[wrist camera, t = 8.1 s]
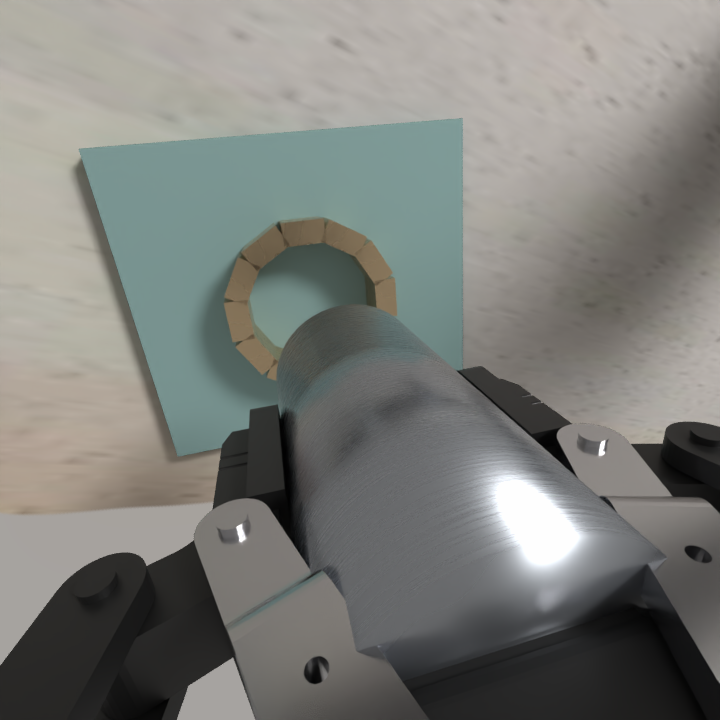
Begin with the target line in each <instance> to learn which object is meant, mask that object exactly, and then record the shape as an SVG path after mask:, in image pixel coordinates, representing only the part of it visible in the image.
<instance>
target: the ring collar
mask: <svg viewBox="0 0 720 720" xmlns="http://www.w3.org/2000/svg"><path fill="white" fill-rule="evenodd" d="M279 226H280V230H279V229H278V228H277V227H276V225H275V224H274V223H273V224H271V225H270V226H269V227H268V228H266V229H265V230H264V231H263V232H261V233H260V234H259V235H258V236H256V237H255V238H254V239H253V240H251V241H250V242H249V243H248V244H246V245H245V246H244V247H243V249H242V252H239V255H238V258H237V261H236V264H235V267H234V270H233V273H232V275H231V278H230V281H229V284H228V287H227V290H226V293H225V296H224V298H225V300H224V307H225V311H226V316H227V320H228V324H229V329H230V333H231V337H232V342H236V346H235V347H236V348H237V349H238V350H239V351H240V353H241V354H242V355H243V356H244V357H245V358H246V359H247V360H248V361H249V362H250V363H251V364H252V365H253V366H254V367H255V368H256V369H257V370H258V371H259V372H260V373H261V374H262V375H263V374H264V373H265V372H266V373H267V378H269V379H273V380H276V376H277V366H278V361H279V358H280V355H281V352H282V350H283V348H281V347H278V346H275V345H274V344H273V343H272V342H271V341H270V339H269V338H268V337H267V336H266V335H265V334H264V333H263V332H262V331H261V329H260V328H259V327H258V326H257V325H256V324H255V322H254V317H253V312H252V307H251V302H250V294H251V292H252V289H253V286H254V283H255V281H256V278H257V275H258V272H259V270H260V269H261V268H262V267H263V266H265V265H266V264H267V263H268V262H270V261H271V260H272V259H274V258H275V257H276V256H277V255H279V254H280V253H281V252H282V251H284V250H285V249H286V248H287V247H293V246H301V245H309V244H317V243H326V244H328V245H330V246H332V247H335V248H337V249H339V250H341V251H344V252H346V253H348V254H349V255H350V257H351V258H352V259H353V261H354V262H355V264H356V265H357V267H358V268H359V269H360V271H361V272H362V274H363V275H364V278H365V289H366V299H367V306H372V307H376V308H379V309H381V310H384V311H386V312H388V313H390V314H391V315H393V316H397V301H396V286H395V278H394V277H392V276H391V274H393V272H392V270H391V269H390V267H389V266H388V264H387V263H386V261H385V260H384V258H383V257H382V255H381V254H380V252H379V251H378V249H377V248H376V246H375V245H374V243H373V242H372V240H369V239H367V236H365V235H362V234H360V233H358V232H356V231H354V230H352V229H350V228H347V227H345V226H343V225H341V224H339V223H337V222H334V221H332V220H330V219H327V218H324V217H323V218H321V217H318V216H315V217H306V218H298V219H289V220H280V221H279Z"/></svg>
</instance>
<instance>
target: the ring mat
mask: <svg viewBox="0 0 720 720" xmlns="http://www.w3.org/2000/svg"><path fill="white" fill-rule="evenodd" d="M79 152H80V155H81V158H82V161H83V164H84V167H85V170H86V174H87V177H88V180H89V183H90V186H91V189H92V192H93V195H94V198H95V201H96V204H97V208H98V211H99V214H100V217H101V220H102V223H103V226H104V229H105V232H106V235H107V239H108V242H109V245H110V248H111V251H112V254H113V257H114V260H115V263H116V266H117V270H118V273H119V276H120V279H121V282H122V285H123V288H124V291H125V294H126V297H127V301H128V304H129V307H130V310H131V313H132V316H133V319H134V322H135V325H136V328H137V331H138V335H139V338H140V341H141V344H142V347H143V350H144V353H145V356H146V359H147V362H148V366H149V369H150V372H151V375H152V378H153V381H154V384H155V387H156V390H157V393H158V397H159V400H160V403H161V406H162V409H163V412H164V415H165V418H166V421H167V424H168V428H169V431H170V434H171V437H172V440H173V443H174V446H175V449H176V452H177V455H178V457H179V456H184V455H189V454H193V453H198V452H203V451H208V450H213V449H218V448H222V444H223V443H224V441H225V440H226V439H227V438H228V436H229V435H230V434H231V433H232V432H233V431H238V430H244V429H249V415H250V409H255V408H260V407H266V406H271V405H276V404H278V408H279V402H278V392H277V381H276V380H273V379H269V378H267V373H266V372H265V373H264V374H263V375H262V374H261V373H260V372H259V371H258V370H257V369H256V368H255V367H254V366H253V365H252V364H251V363H250V362H249V361H248V360H247V359H246V358H245V357H244V356H243V355H242V354H241V353H240V351H239V350H238V349H237V348H236V347H235V346H236V342H232V337H231V333H230V329H229V324H228V320H227V316H226V311H225V307H224V300H225V298H224V296H225V293H226V290H227V287H228V284H229V281H230V278H231V275H232V273H233V270H234V267H235V264H236V261H237V258H238V255H239V252H242V249H243V247H244V246H245V245H246V244H248V243H249V242H250V241H251V240H253V239H254V238H255V237H256V236H258V235H259V234H260V233H261V232H263V231H264V230H265V229H266V228H268V227H269V226H270V225H271V224H273V223H274V224H275V225H276V227H277V228H278V229H279V230H280V226H279V221H280V220H289V219H298V218H306V217H315V216H318V217H321V218H323V217H324V218H327V219H330V220H332V221H334V222H337V223H339V224H341V225H343V226H345V227H347V228H350V229H352V230H354V231H356V232H358V233H360V234H362V235H365V236H367V239H369V240H372V242H373V243H374V245H375V246H376V248H377V249H378V251H379V252H380V254H381V255H382V257H383V258H384V260H385V261H386V263H387V264H388V266H389V267H390V269H391V270H392V272H393V274H391V276H392V277H394V278H395V286H396V301H397V316H394V317H395V318H397V319H398V320H399V321H400V322H401V323H403V324H404V325H405V326H406V327H407V328H408V329H409V330H411V331H412V332H413V333H414V334H415V335H416V336H417V337H418V338H420V339H421V340H422V341H423V342H424V343H425V344H426V345H428V346H429V347H430V348H431V349H432V350H433V351H434V352H435V353H437V354H438V355H439V356H440V357H441V358H442V359H443V360H445V361H446V362H447V363H448V364H449V365H450V366H451V367H452V368H454V369H455V370H456V371H457V370H463V118H459V119H447V120H434V121H421V122H409V123H396V124H384V125H371V126H359V127H346V128H334V129H321V130H309V131H296V132H283V133H271V134H258V135H246V136H233V137H221V138H208V139H196V140H183V141H170V142H158V143H145V144H133V145H120V146H108V147H95V148H83V149H79ZM250 302H251V307H252V312H253V317H254V322H255V324H256V325H257V326H258V327H259V328H260V329H261V331H262V332H263V333H264V334H265V335H266V336H267V337H268V338H269V339H270V341H271V342H272V343H273V344H274V345H275V346H278V347H281V348H284V346H285V344H286V342H287V341H288V339H289V338H290V336H291V335H292V334H293V333H294V332H295V330H296V329H297V328H298V327H299V326H300V325H302V324H303V323H304V322H305V321H306V320H308V319H309V318H311V317H312V316H314V315H316V314H318V313H319V312H321V311H324V310H326V309H329V308H332V307H336V306H341V305H349V304H359V305H367V299H366V289H365V278H364V275H363V274H362V272H361V271H360V269H359V268H358V267H357V265H356V264H355V262H354V261H353V259H352V258H351V257H350V255H349V254H348V253H346V252H344V251H341V250H339V249H337V248H335V247H332V246H330V245H328V244H326V243H317V244H309V245H301V246H293V247H287V248H286V249H285V250H284V251H282V252H281V253H280V254H279V255H277V256H276V257H275V258H274V259H272V260H271V261H270V262H268V263H267V264H266V265H265V266H263V267H262V268H261V269H260V270H259V272H258V275H257V278H256V281H255V283H254V286H253V289H252V292H251V294H250Z"/></svg>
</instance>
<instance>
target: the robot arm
mask: <svg viewBox="0 0 720 720" xmlns="http://www.w3.org/2000/svg"><path fill="white" fill-rule="evenodd" d="M457 372H458V373H459V374H460V375H462V376H463V377H464V378H465V379H466V380H467V381H468V382H469V383H471V384H472V385H473V386H474V387H475V388H476V389H477V390H479V391H480V392H481V393H482V394H483V395H484V396H485V397H486V398H488V399H489V400H490V401H491V402H492V403H493V404H494V405H496V406H497V407H498V408H499V409H500V410H501V411H502V412H503V413H505V414H506V415H507V416H508V417H509V418H510V419H511V420H513V421H514V422H515V423H516V424H517V425H518V426H519V427H521V428H522V429H523V430H524V431H525V432H526V433H527V434H528V435H530V436H531V437H532V438H533V439H534V440H535V441H536V442H538V443H539V444H540V445H541V446H542V447H543V448H544V449H545V450H547V451H548V452H549V453H550V454H551V455H552V456H553V457H555V458H556V459H557V460H558V461H559V462H560V463H561V464H562V465H564V466H565V467H566V468H567V469H568V470H569V471H570V472H572V473H573V474H574V475H575V476H576V477H577V478H578V479H579V480H581V481H582V482H583V483H584V484H585V485H586V486H587V487H589V488H590V489H591V490H592V491H593V492H594V493H595V494H596V495H598V496H599V497H600V498H601V499H602V500H603V501H604V502H606V503H607V504H608V505H609V506H610V507H611V508H612V509H613V510H615V511H616V512H617V513H618V514H619V515H620V516H621V517H623V518H624V519H625V520H626V521H627V522H628V523H629V524H630V525H632V526H633V527H634V528H635V529H636V530H637V531H638V532H640V533H641V534H642V535H643V536H644V537H645V538H646V539H647V540H649V541H650V542H651V543H652V544H653V545H654V546H655V547H657V548H658V549H659V550H660V551H661V552H662V553H663V554H664V555H666V556H667V557H668V558H665V559H662V560H658V561H655V562H652V563H648V565H647V569H646V573H645V577H644V582H643V586H642V590H641V594H640V595H641V596H642V598H643V600H644V602H645V604H646V606H647V608H648V609H649V610H637V609H636V608H635V607H633V608H630V609H627V610H623V611H620V612H617V613H614V614H611V615H608V616H605V617H602V618H598V619H595V620H592V621H589V622H586V623H583V624H580V625H577V626H573V627H570V628H567V629H564V630H561V631H558V632H555V633H552V634H548V635H545V636H542V637H539V638H536V639H533V640H530V641H527V642H523V643H520V644H517V645H514V646H511V647H508V648H505V649H501V650H498V651H495V652H492V653H489V654H486V655H483V656H480V657H476V658H473V659H470V660H467V661H464V662H461V663H458V664H455V665H451V666H448V667H445V668H442V669H439V670H436V671H433V672H430V673H426V674H423V675H420V676H417V677H414V678H411V679H408V680H405V681H402V680H401V679H400V677H399V676H398V675H397V673H396V672H395V670H394V669H393V668H392V666H391V665H390V663H389V662H388V660H387V659H386V658H385V656H384V655H383V653H382V652H381V650H380V649H379V648H378V646H377V645H376V646H372V647H369V648H366V649H362V650H359V651H356V648H355V643H354V639H353V634H352V629H351V625H350V620H349V615H348V611H347V606H346V601H345V599H344V598H343V596H342V595H341V593H340V592H339V591H338V589H337V588H336V586H335V585H334V583H333V582H332V581H331V579H330V578H329V577H328V575H327V574H326V573H325V572H324V571H322V570H321V569H319V570H317V571H315V572H314V573H311V571H310V569H309V567H308V566H307V564H306V563H305V561H304V560H303V558H302V557H301V555H300V554H299V552H298V551H297V549H296V548H295V546H294V545H293V543H292V538H291V528H290V508H289V498H288V488H287V478H286V468H285V458H284V448H283V437H282V427H281V418H280V413H279V408H278V404H276V405H271V406H266V407H260V408H255V409H250V415H249V429H244V430H238V431H233V432H232V433H231V434H230V435H229V436H228V438H227V439H226V440H225V441H224V443H223V444H222V449H221V456H220V459H221V460H220V462H219V471H218V476H217V483H216V490H215V496H214V503H213V510H212V511H210V512H209V513H208V514H207V515H206V516H205V517H204V518H203V519H202V520H201V522H200V523H199V524H198V526H197V528H196V531H195V533H194V541H193V542H191V543H190V544H188V545H187V546H185V547H184V548H182V549H181V550H179V551H177V552H175V553H173V554H171V555H169V556H167V557H165V558H163V559H161V560H158V561H156V562H154V563H152V564H150V565H148V566H146V564H145V562H144V560H143V559H142V558H141V557H140V556H138V555H136V554H133V553H116V554H112V555H108V556H105V557H103V558H100V559H98V560H95V561H94V562H91V563H90V564H88V565H86V566H84V567H83V568H81V569H80V570H79V571H77V572H76V573H74V574H73V575H72V576H71V577H70V578H69V579H67V580H66V581H65V582H64V583H63V584H62V586H61V587H60V588H59V589H58V590H57V592H56V593H55V594H54V596H53V597H52V598H51V600H50V601H49V602H48V603H47V605H46V606H45V607H44V609H43V610H42V611H41V613H40V614H39V615H38V617H37V618H36V619H35V621H34V622H33V623H32V625H31V626H30V627H29V629H28V630H27V631H26V633H25V634H24V635H23V636H22V638H21V639H20V640H19V642H18V643H17V645H16V646H15V647H14V648H13V650H12V651H11V652H10V654H9V655H8V656H7V658H6V659H5V660H4V662H3V663H2V664H1V665H0V720H177V717H178V714H179V711H180V708H181V706H182V703H183V700H184V697H185V694H186V691H187V688H188V686H189V685H190V684H192V683H193V682H195V681H196V680H198V679H200V678H201V677H203V676H204V675H206V674H207V673H209V672H210V671H212V670H214V669H215V668H217V667H218V666H220V665H222V664H223V663H225V662H226V661H228V660H229V659H231V658H232V657H233V658H234V661H235V664H236V666H237V669H238V672H239V675H240V678H241V681H242V683H243V686H244V689H245V692H246V694H247V697H248V700H249V703H250V706H251V709H252V711H253V714H254V717H255V720H720V427H718V426H714V425H710V424H706V423H699V422H678V423H674V424H671V425H669V426H668V427H667V428H666V431H665V436H664V440H663V444H630V443H629V441H628V440H627V439H626V438H625V437H624V436H622V435H621V434H619V433H618V432H616V431H614V430H612V429H609V428H606V427H603V426H600V425H595V424H587V423H577V424H572V423H570V422H569V421H568V420H566V419H565V418H563V417H562V416H561V415H559V414H558V413H556V412H555V411H554V410H552V409H551V408H550V407H548V406H547V405H545V404H544V403H541V401H540V400H539V399H537V398H536V397H534V396H531V394H530V393H529V392H528V391H526V390H525V389H523V388H522V387H521V386H519V385H517V384H514V383H512V382H509V381H506V380H503V379H498V378H497V377H495V376H494V375H493V374H491V373H490V372H489V371H488V370H486V369H485V368H484V367H482V366H478V367H473V368H468V369H463V370H457Z"/></svg>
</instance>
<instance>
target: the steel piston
mask: <svg viewBox="0 0 720 720" xmlns="http://www.w3.org/2000/svg"><path fill="white" fill-rule="evenodd" d="M276 381H277V392H278V402H279V413H280V418H281V427H282V437H283V448H284V458H285V468H286V478H287V488H288V498H289V508H290V528H291V538H292V543H293V545H294V546H295V548H296V549H297V551H298V552H299V554H300V555H301V557H302V558H303V560H304V561H305V563H306V564H307V566H308V567H309V569H310V571H311V573H314V572H315V571H317V570H319V569H321V570H322V571H324V572H325V573H326V574H327V575H328V577H329V578H330V579H331V581H332V582H333V583H334V585H335V586H336V588H337V589H338V591H339V592H340V593H341V595H342V596H343V598H344V599H345V601H346V606H347V611H348V615H349V620H350V625H351V629H352V634H353V639H354V643H355V648H356V651H359V650H362V649H366V648H369V647H372V646H376V645H377V646H378V648H379V649H380V650H381V652H382V653H383V655H384V656H385V658H386V659H387V660H388V662H389V663H390V665H391V666H392V668H393V669H394V670H395V672H396V673H397V675H398V676H399V677H400V679H401V680H402V681H405V680H408V679H411V678H414V677H417V676H420V675H423V674H426V673H430V672H433V671H436V670H439V669H442V668H445V667H448V666H451V665H455V664H458V663H461V662H464V661H467V660H470V659H473V658H476V657H480V656H483V655H486V654H489V653H492V652H495V651H498V650H501V649H505V648H508V647H511V646H514V645H517V644H520V643H523V642H527V641H530V640H533V639H536V638H539V637H542V636H545V635H548V634H552V633H555V632H558V631H561V630H564V629H567V628H570V627H573V626H577V625H580V624H583V623H586V622H589V621H592V620H595V619H598V618H602V617H605V616H608V615H611V614H614V613H617V612H620V611H623V610H627V609H630V608H633V607H635V608H636V609H637V610H649V609H648V608H647V606H646V604H645V602H644V600H643V598H642V596H641V595H640V594H641V590H642V586H643V582H644V577H645V573H646V569H647V565H648V563H652V562H655V561H658V560H662V559H665V558H668V557H667V556H666V555H664V554H663V553H662V552H661V551H660V550H659V549H658V548H657V547H655V546H654V545H653V544H652V543H651V542H650V541H649V540H647V539H646V538H645V537H644V536H643V535H642V534H641V533H640V532H638V531H637V530H636V529H635V528H634V527H633V526H632V525H630V524H629V523H628V522H627V521H626V520H625V519H624V518H623V517H621V516H620V515H619V514H618V513H617V512H616V511H615V510H613V509H612V508H611V507H610V506H609V505H608V504H607V503H606V502H604V501H603V500H602V499H601V498H600V497H599V496H598V495H596V494H595V493H594V492H593V491H592V490H591V489H590V488H589V487H587V486H586V485H585V484H584V483H583V482H582V481H581V480H579V479H578V478H577V477H576V476H575V475H574V474H573V473H572V472H570V471H569V470H568V469H567V468H566V467H565V466H564V465H562V464H561V463H560V462H559V461H558V460H557V459H556V458H555V457H553V456H552V455H551V454H550V453H549V452H548V451H547V450H545V449H544V448H543V447H542V446H541V445H540V444H539V443H538V442H536V441H535V440H534V439H533V438H532V437H531V436H530V435H528V434H527V433H526V432H525V431H524V430H523V429H522V428H521V427H519V426H518V425H517V424H516V423H515V422H514V421H513V420H511V419H510V418H509V417H508V416H507V415H506V414H505V413H503V412H502V411H501V410H500V409H499V408H498V407H497V406H496V405H494V404H493V403H492V402H491V401H490V400H489V399H488V398H486V397H485V396H484V395H483V394H482V393H481V392H480V391H479V390H477V389H476V388H475V387H474V386H473V385H472V384H471V383H469V382H468V381H467V380H466V379H465V378H464V377H463V376H462V375H460V374H459V373H458V372H457V371H456V370H455V369H454V368H452V367H451V366H450V365H449V364H448V363H447V362H446V361H445V360H443V359H442V358H441V357H440V356H439V355H438V354H437V353H435V352H434V351H433V350H432V349H431V348H430V347H429V346H428V345H426V344H425V343H424V342H423V341H422V340H421V339H420V338H418V337H417V336H416V335H415V334H414V333H413V332H412V331H411V330H409V329H408V328H407V327H406V326H405V325H404V324H403V323H401V322H400V321H399V320H398V319H397V318H395V317H394V316H393V315H391V314H390V313H388V312H386V311H384V310H381V309H379V308H376V307H372V306H367V305H359V304H349V305H341V306H336V307H332V308H329V309H326V310H324V311H321V312H319V313H318V314H316V315H314V316H312V317H311V318H309V319H308V320H306V321H305V322H304V323H303V324H302V325H300V326H299V327H298V328H297V329H296V330H295V332H294V333H293V334H292V335H291V336H290V338H289V339H288V341H287V342H286V344H285V346H284V348H283V350H282V352H281V355H280V358H279V361H278V366H277V376H276Z"/></svg>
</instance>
